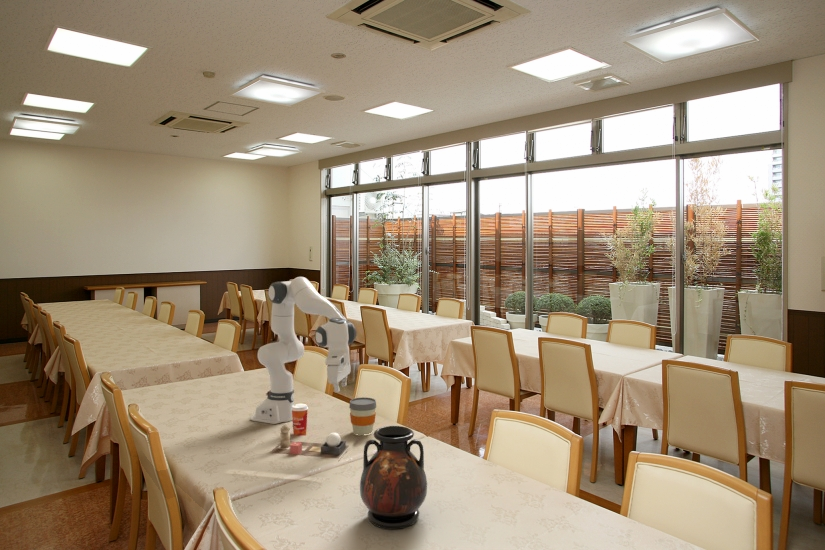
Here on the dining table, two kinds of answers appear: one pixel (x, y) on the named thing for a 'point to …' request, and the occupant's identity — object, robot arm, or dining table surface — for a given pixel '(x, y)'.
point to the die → (295, 448)
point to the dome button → (333, 439)
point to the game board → (315, 449)
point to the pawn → (285, 437)
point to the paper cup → (299, 419)
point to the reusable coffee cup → (362, 415)
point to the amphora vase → (393, 479)
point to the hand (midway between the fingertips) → (340, 389)
